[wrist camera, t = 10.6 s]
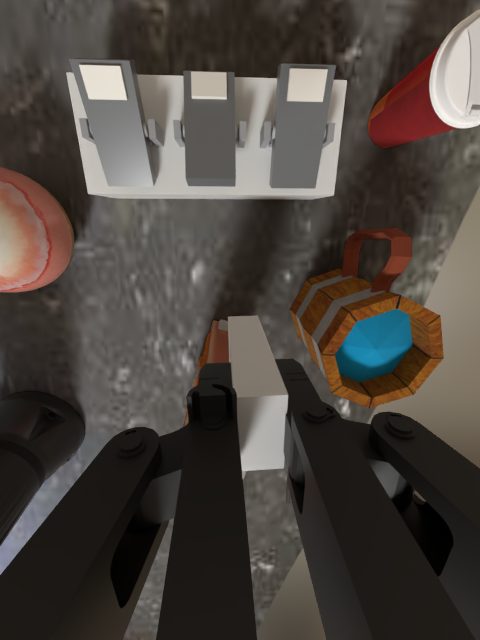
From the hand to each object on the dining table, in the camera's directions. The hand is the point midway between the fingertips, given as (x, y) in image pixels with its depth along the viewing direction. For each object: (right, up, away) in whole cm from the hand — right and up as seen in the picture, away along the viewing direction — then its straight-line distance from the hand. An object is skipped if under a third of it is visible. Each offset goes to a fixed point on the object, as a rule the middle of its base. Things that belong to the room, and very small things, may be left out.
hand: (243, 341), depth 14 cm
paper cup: (+19, +26, +20) cm, 38 cm away
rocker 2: (-3, +18, +10) cm, 21 cm away
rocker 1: (-11, +18, +10) cm, 23 cm away
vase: (-27, +13, +23) cm, 38 cm away
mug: (+15, +5, +28) cm, 32 cm away
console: (-3, +22, +21) cm, 30 cm away
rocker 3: (+5, +18, +11) cm, 22 cm away
